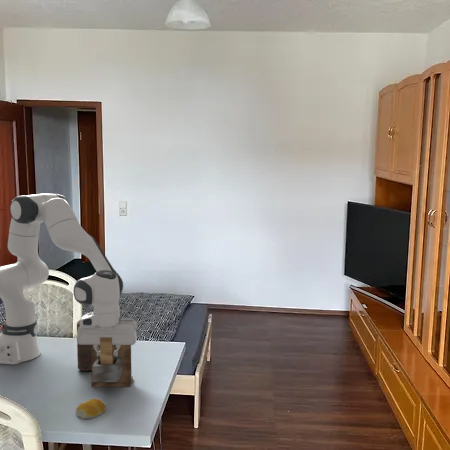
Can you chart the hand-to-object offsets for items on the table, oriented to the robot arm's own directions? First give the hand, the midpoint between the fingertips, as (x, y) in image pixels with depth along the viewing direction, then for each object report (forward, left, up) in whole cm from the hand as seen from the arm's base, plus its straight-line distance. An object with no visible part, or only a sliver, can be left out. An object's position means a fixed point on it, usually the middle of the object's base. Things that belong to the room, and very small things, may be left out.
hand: (107, 356), depth 169 cm
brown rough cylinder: (-12, +19, -14) cm, 26 cm away
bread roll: (-3, -13, -14) cm, 20 cm away
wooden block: (0, 0, -5) cm, 5 cm away
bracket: (0, +3, -14) cm, 14 cm away
